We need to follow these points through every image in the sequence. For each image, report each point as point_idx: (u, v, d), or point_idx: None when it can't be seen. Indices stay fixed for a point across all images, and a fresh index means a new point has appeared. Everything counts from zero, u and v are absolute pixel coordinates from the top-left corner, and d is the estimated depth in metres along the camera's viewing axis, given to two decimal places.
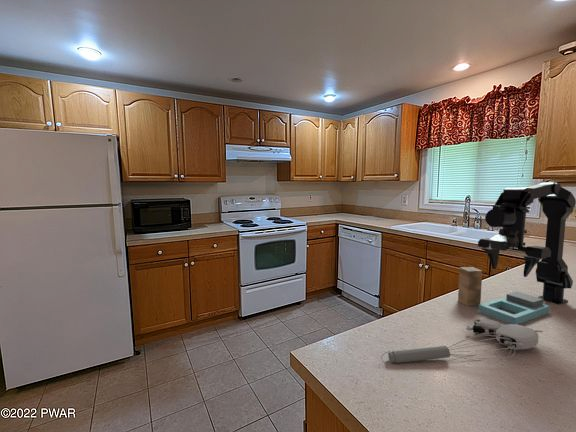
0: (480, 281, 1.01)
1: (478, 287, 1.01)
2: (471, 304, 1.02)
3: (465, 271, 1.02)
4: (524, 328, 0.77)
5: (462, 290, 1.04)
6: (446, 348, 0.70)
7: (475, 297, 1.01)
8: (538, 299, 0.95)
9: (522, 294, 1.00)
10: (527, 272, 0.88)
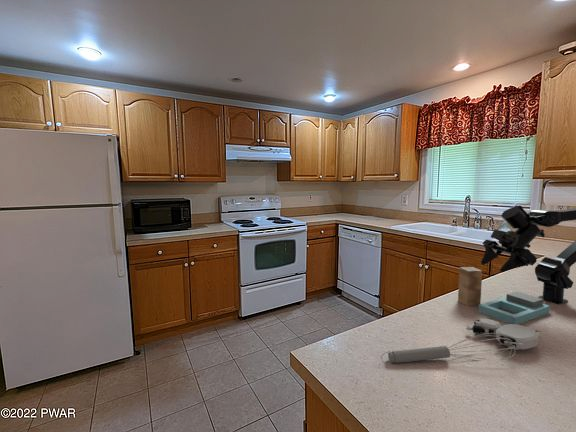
0: (480, 281, 1.01)
1: (478, 287, 1.01)
2: (471, 304, 1.02)
3: (465, 271, 1.02)
4: (524, 328, 0.77)
5: (462, 290, 1.04)
6: (446, 348, 0.70)
7: (475, 297, 1.01)
8: (538, 299, 0.95)
9: (522, 294, 1.00)
10: (504, 268, 0.98)
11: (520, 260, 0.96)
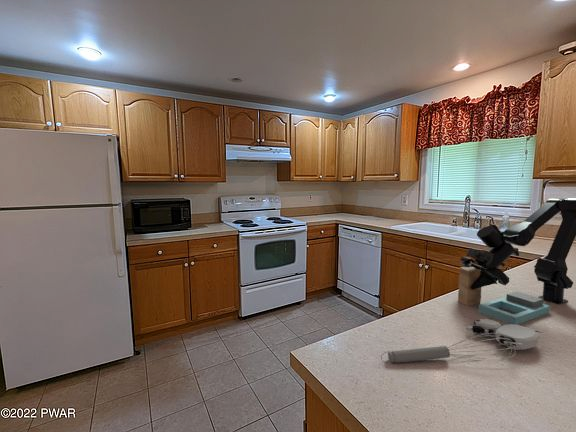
0: None
1: None
2: (471, 304, 1.02)
3: (465, 271, 1.02)
4: (524, 328, 0.77)
5: (462, 290, 1.04)
6: (446, 348, 0.70)
7: (475, 297, 1.01)
8: (538, 299, 0.95)
9: (522, 294, 1.00)
10: (475, 286, 1.00)
11: (489, 278, 0.98)
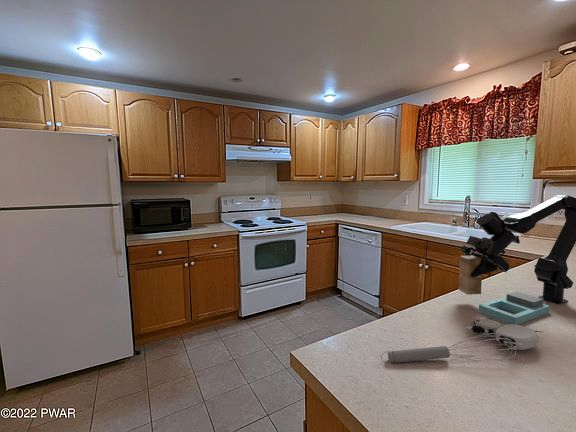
0: None
1: None
2: (472, 292, 1.01)
3: (465, 259, 1.01)
4: (524, 328, 0.77)
5: (462, 279, 1.03)
6: (446, 348, 0.70)
7: (476, 285, 1.01)
8: (538, 299, 0.95)
9: (522, 294, 1.00)
10: (475, 273, 1.00)
11: (490, 265, 0.98)
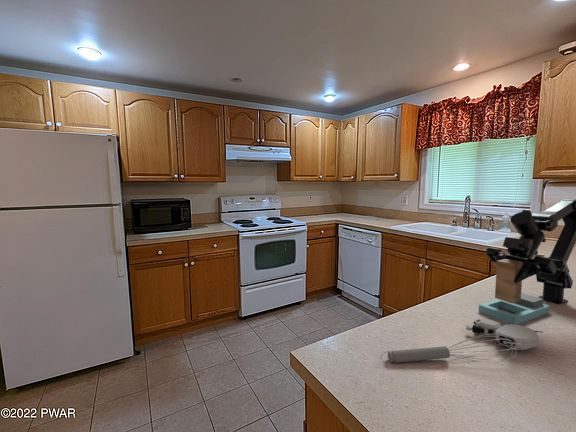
0: None
1: None
2: (514, 300, 0.91)
3: (507, 264, 0.91)
4: (524, 328, 0.77)
5: (502, 286, 0.93)
6: (446, 348, 0.70)
7: (517, 292, 0.92)
8: (538, 299, 0.95)
9: (522, 294, 1.00)
10: (519, 278, 0.90)
11: (533, 268, 0.89)
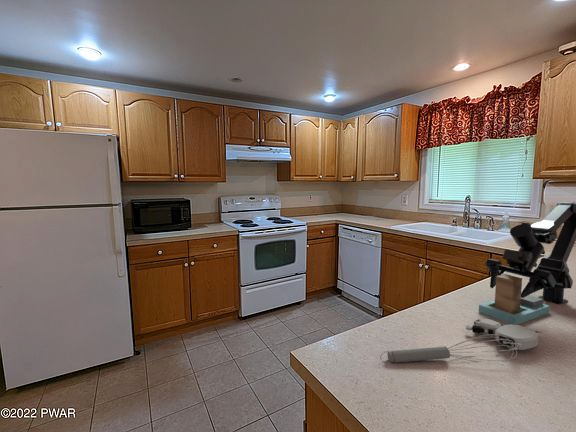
0: (520, 290, 0.92)
1: (518, 296, 0.92)
2: None
3: (507, 280, 0.91)
4: (524, 329, 0.77)
5: (502, 301, 0.93)
6: (446, 349, 0.70)
7: (516, 308, 0.92)
8: (538, 299, 0.95)
9: None
10: (525, 293, 0.89)
11: (540, 283, 0.88)
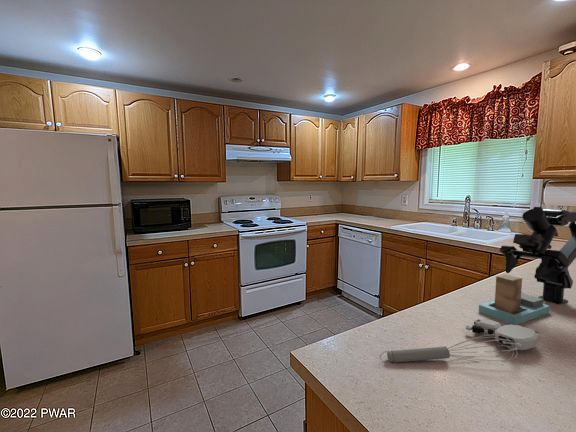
0: (520, 290, 0.92)
1: (518, 296, 0.92)
2: None
3: (507, 280, 0.91)
4: (524, 329, 0.77)
5: (502, 301, 0.93)
6: (446, 349, 0.70)
7: (516, 308, 0.92)
8: (538, 299, 0.95)
9: (522, 294, 1.00)
10: (539, 274, 0.91)
11: (553, 263, 0.91)
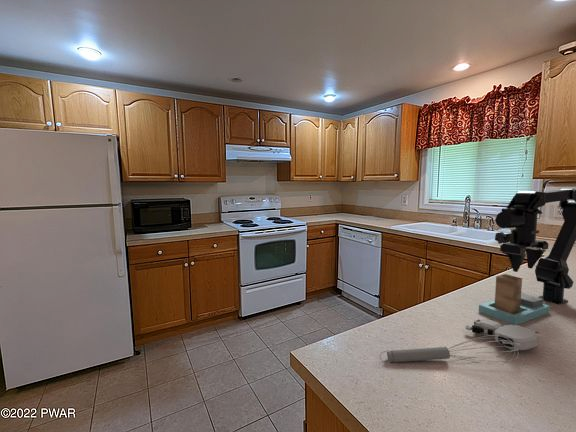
0: (520, 290, 0.92)
1: (518, 296, 0.92)
2: None
3: (507, 280, 0.91)
4: (524, 329, 0.77)
5: (502, 301, 0.93)
6: (446, 349, 0.70)
7: (516, 308, 0.92)
8: (538, 299, 0.95)
9: (522, 294, 1.00)
10: (513, 267, 0.99)
11: (513, 254, 0.97)
